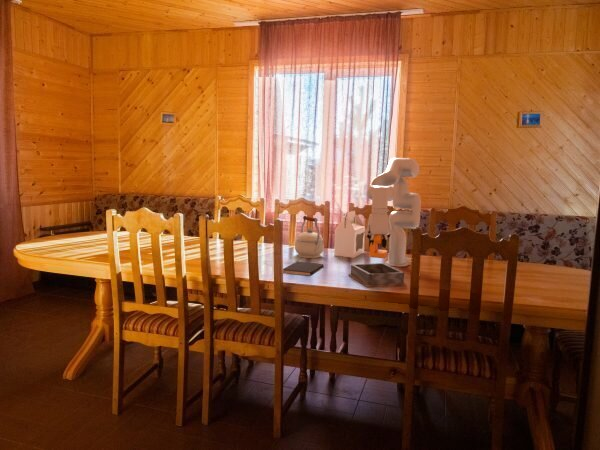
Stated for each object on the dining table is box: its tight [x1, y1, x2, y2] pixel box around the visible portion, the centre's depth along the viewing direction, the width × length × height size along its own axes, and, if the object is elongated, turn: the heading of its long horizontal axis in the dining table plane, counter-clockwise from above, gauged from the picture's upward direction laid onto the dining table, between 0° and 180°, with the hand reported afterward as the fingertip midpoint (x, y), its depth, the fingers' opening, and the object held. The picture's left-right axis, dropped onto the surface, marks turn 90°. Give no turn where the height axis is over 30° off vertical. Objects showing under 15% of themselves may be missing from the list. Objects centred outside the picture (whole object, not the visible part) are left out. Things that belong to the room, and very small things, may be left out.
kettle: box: [294, 215, 325, 259], centre depth 291 cm, size 25×18×25 cm
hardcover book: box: [282, 260, 325, 276], centre depth 255 cm, size 16×23×2 cm
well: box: [348, 262, 407, 289], centre depth 234 cm, size 20×24×6 cm
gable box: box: [333, 210, 366, 258], centre depth 302 cm, size 22×13×28 cm, turn 155°
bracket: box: [368, 235, 388, 259], centre depth 232 cm, size 11×7×12 cm, turn 160°
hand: (377, 247), depth 232 cm, fingers closed on bracket, 6 cm apart
